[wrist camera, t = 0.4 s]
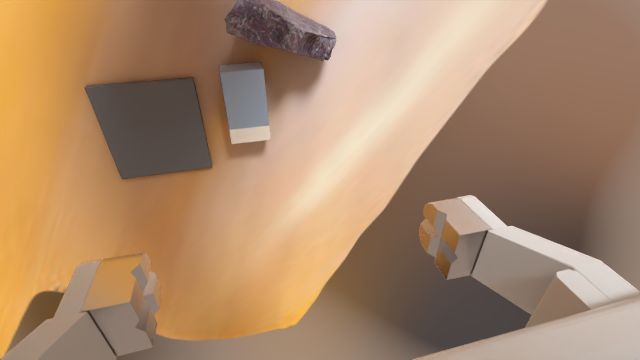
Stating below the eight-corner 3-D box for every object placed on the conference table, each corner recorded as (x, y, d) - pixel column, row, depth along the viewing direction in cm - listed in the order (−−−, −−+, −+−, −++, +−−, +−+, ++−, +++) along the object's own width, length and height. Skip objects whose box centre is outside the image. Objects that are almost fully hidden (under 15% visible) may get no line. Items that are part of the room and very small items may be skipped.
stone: (221, 36, 38) (335, 84, 44) (238, -22, 35) (356, 36, 41) (221, 27, 46) (316, 67, 53) (234, -20, 44) (332, 28, 50)
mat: (86, 85, 46) (84, 87, 45) (193, 77, 49) (192, 79, 48) (123, 176, 54) (121, 179, 54) (212, 165, 57) (212, 167, 57)
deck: (219, 64, 49) (219, 72, 46) (260, 61, 50) (263, 69, 47) (230, 132, 55) (231, 144, 52) (267, 128, 56) (270, 139, 53)
